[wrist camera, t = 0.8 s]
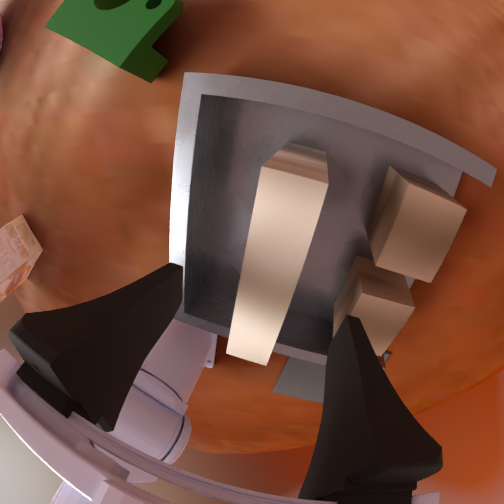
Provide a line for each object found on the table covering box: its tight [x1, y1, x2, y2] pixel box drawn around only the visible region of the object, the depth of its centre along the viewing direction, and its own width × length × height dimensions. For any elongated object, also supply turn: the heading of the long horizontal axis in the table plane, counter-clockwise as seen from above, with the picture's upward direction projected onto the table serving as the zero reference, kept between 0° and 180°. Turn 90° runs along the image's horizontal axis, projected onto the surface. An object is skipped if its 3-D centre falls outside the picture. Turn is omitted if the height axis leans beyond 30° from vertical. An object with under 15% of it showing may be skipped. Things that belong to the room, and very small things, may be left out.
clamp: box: [45, 0, 183, 83], centre depth 12 cm, size 12×6×9 cm, turn 47°
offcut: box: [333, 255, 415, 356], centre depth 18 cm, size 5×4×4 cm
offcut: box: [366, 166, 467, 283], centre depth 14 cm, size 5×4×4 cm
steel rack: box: [170, 72, 497, 370], centre depth 18 cm, size 18×18×5 cm
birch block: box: [226, 142, 329, 366], centre depth 16 cm, size 11×2×8 cm, turn 170°
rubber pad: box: [272, 352, 390, 403], centre depth 28 cm, size 12×10×1 cm
